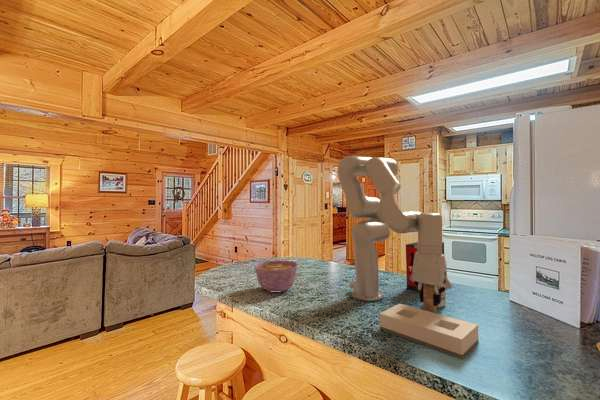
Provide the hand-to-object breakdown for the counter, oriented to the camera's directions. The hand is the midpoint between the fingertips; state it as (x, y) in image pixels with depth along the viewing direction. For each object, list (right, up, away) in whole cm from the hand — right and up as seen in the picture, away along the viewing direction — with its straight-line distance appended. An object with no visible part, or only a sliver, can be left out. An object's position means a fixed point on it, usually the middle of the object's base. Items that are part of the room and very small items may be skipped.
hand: (429, 302), depth 99 cm
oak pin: (0, -3, 0) cm, 3 cm away
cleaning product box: (+13, -5, +33) cm, 36 cm away
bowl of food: (-55, -7, +36) cm, 66 cm away
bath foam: (+8, -5, +12) cm, 16 cm away
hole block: (-6, -5, -12) cm, 15 cm away
